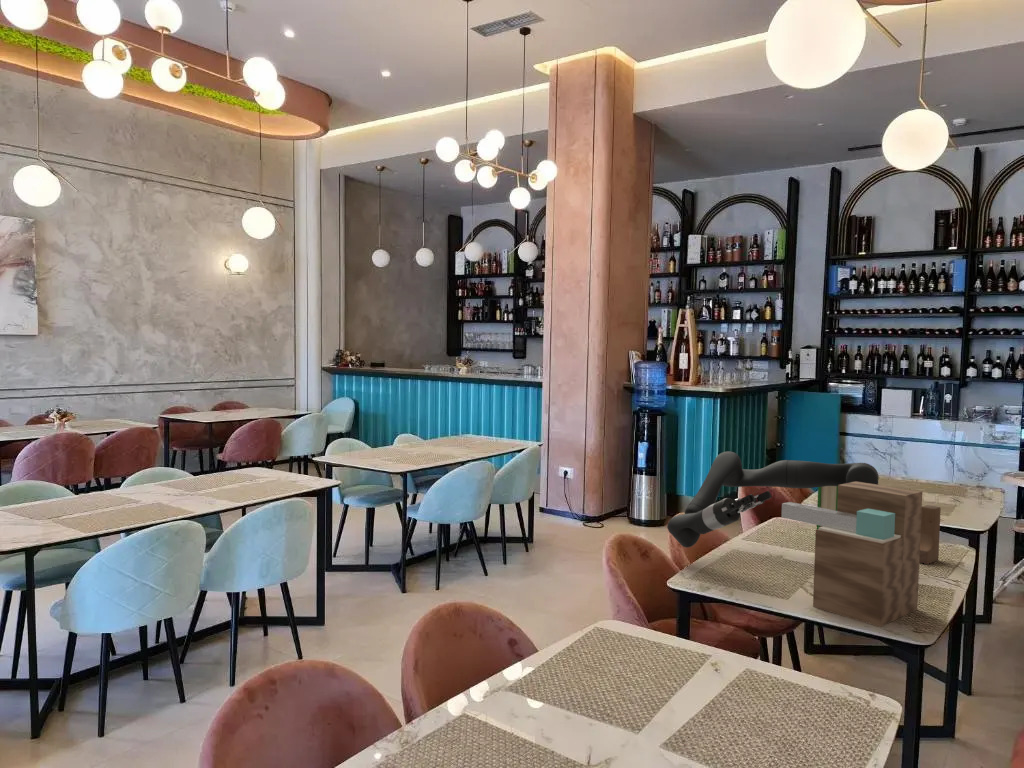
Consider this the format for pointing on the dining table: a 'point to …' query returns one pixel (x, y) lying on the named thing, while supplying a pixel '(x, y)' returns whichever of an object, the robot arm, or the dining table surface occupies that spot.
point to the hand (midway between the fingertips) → (761, 495)
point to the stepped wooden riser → (870, 558)
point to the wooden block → (929, 534)
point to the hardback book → (827, 498)
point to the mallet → (844, 519)
